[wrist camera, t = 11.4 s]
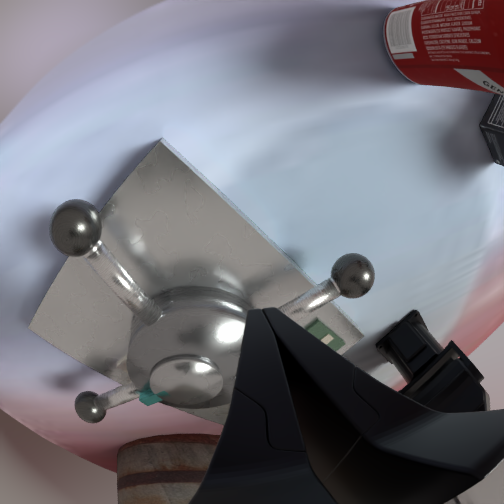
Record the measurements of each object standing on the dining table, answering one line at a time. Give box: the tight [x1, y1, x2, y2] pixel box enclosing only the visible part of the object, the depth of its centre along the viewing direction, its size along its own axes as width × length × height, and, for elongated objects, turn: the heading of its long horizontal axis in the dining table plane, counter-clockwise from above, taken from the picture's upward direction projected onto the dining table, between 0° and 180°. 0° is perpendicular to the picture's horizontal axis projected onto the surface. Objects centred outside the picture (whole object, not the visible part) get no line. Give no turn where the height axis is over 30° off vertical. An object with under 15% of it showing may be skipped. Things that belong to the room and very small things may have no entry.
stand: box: [28, 138, 364, 425], centre depth 22 cm, size 24×18×2 cm
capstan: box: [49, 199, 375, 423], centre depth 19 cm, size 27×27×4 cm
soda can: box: [383, 0, 504, 95], centre depth 10 cm, size 7×7×12 cm
